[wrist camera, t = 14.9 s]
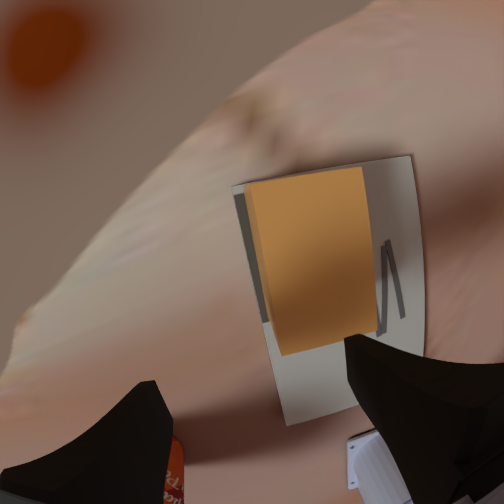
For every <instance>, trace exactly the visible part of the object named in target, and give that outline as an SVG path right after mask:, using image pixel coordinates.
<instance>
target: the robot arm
mask: <svg viewBox="0 0 504 504" xmlns="http://www.w3.org/2000/svg"><path fill="white" fill-rule="evenodd" d="M344 346H345V357H346V369H347V381H348V383H349V385H350V387H351V389H352V391H353V393H354V395H355V397H356V400H357V401H358V403H359V404H360V406H361V407H362V409H363V410H364V412H365V413H366V415H367V416H368V418H369V419H370V421H371V422H372V423H373V425H374V426H375V428H376V430H373V431H371V432H368V433H365V434H363V435H360V436H357V437H354V438H351V439H349V440H348V441H347V472H348V488H349V489H354V488H357V487H358V489H359V491H360V493H361V496H362V498H363V500H364V502H365V504H504V363H495V364H466V363H454V362H446V361H441V360H436V359H430V358H426V357H422V356H419V355H415V354H412V353H409V352H406V351H403V350H400V349H397V348H395V347H392V346H389V345H387V344H384V343H382V342H379V341H377V340H375V339H372V338H370V337H367V336H365V335H362V334H359V333H358V334H355V335H352V336H348V337H345V338H344ZM172 437H173V418H172V416H171V414H170V412H169V410H168V408H167V406H166V404H165V402H164V400H163V398H162V395H161V393H160V391H159V389H158V387H157V384H156V382H155V380H152V381H144V382H140V383H139V384H137V385H136V386H135V387H134V388H133V389H132V390H131V391H130V392H129V393H128V394H127V395H126V396H125V397H124V398H123V399H122V400H121V401H120V402H118V403H117V404H116V405H115V406H114V407H113V408H112V409H111V410H110V411H109V412H108V413H107V414H106V415H105V416H104V417H102V418H101V419H100V420H99V421H98V422H97V423H96V424H95V425H93V426H92V427H91V428H90V429H88V430H87V431H86V432H84V433H83V434H82V435H80V436H79V437H77V438H76V439H74V440H73V441H71V442H70V443H68V444H66V445H64V446H63V447H61V448H59V449H57V450H56V451H54V452H52V453H50V454H48V455H45V456H43V457H41V458H38V459H36V460H33V461H31V462H28V463H25V464H21V465H18V466H14V467H10V468H6V469H4V470H3V471H2V473H1V474H0V504H164V488H165V481H166V475H167V469H168V463H169V458H170V452H171V446H172Z"/></svg>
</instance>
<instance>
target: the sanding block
mask: <svg viewBox="0 0 504 504" xmlns="http://www.w3.org/2000/svg"><path fill="white" fill-rule="evenodd" d="M243 190H244V195H245V200H246V205H247V210H248V215H249V221H250V226H251V231H252V236H253V242H254V247H255V252H256V257H257V262H258V268H259V273H260V278H261V283H262V289H263V294H264V299H265V304H266V310H267V315H268V318H269V321H270V324H271V327H272V330H273V333H274V336H275V339H276V341H277V344H278V347H279V350H280V353H281V356H286V355H290V354H294V353H298V352H302V351H306V350H310V349H314V348H318V347H322V346H326V345H329V344H333V343H337V342H340V341H344V338H345V337H348V336H352V335H355V334H358V333H359V334H362V335H364V334H367V333H371V332H374V331H377V302H376V284H375V270H374V258H373V247H372V238H371V229H370V220H369V212H368V205H367V198H366V191H365V185H364V179H363V172H362V167H354V168H346V169H339V170H332V171H325V172H318V173H312V174H305V175H299V176H293V177H287V178H281V179H275V180H269V181H264V182H258V183H253V184H248V185H245V186H243Z"/></svg>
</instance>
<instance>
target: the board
mask: <svg viewBox="0 0 504 504" xmlns="http://www.w3.org/2000/svg"><path fill="white" fill-rule="evenodd" d="M354 167H362V172H363V179H364V185H365V191H366V198H367V205H368V212H369V220H370V229H371V238H372V247H373V258H374V270H375V284H376V302H377V331H374V332H371V333H367V334H364V335H365V336H367V337H370V338H372V339H375V340H377V341H379V342H382V343H384V344H387V345H389V346H392V347H395V348H397V349H400V350H403V351H406V352H409V353H412V354H415V355H419V356H422V357H423V350H424V325H425V288H424V263H423V248H422V236H421V226H420V216H419V208H418V200H417V193H416V187H415V180H414V174H413V169H412V163H411V158H410V156H403V157H395V158H388V159H381V160H374V161H367V162H360V163H354V164H347V165H341V166H335V167H329V168H323V169H317V170H312V171H306V172H301V173H296V174H290V175H285V176H280V177H275V178H270V179H265V180H260V181H256V182H251V183H246V184H242V185H237V186H233V187H231V189H232V193H233V198H234V202H235V206H236V211H237V215H238V220H239V224H240V229H241V233H242V237H243V242H244V246H245V251H246V255H247V260H248V264H249V268H250V273H251V277H252V281H253V286H254V290H255V295H256V299H257V303H258V308H259V312H260V316H261V321H262V325H263V329H264V334H265V338H266V342H267V347H268V351H269V355H270V360H271V364H272V368H273V372H274V377H275V381H276V385H277V390H278V394H279V398H280V402H281V407H282V411H283V415H284V419H285V423H286V426H290V425H294V424H297V423H301V422H305V421H309V420H312V419H316V418H319V417H322V416H326V415H329V414H332V413H335V412H339V411H342V410H345V409H348V408H351V407H354V406H356V405H359V403H358V401H357V400H356V397H355V395H354V393H353V391H352V389H351V387H350V385H349V383H348V381H347V369H346V357H345V346H344V341H340V342H337V343H333V344H329V345H326V346H322V347H318V348H314V349H310V350H306V351H302V352H298V353H294V354H290V355H286V356H281V353H280V350H279V347H278V344H277V341H276V339H275V336H274V333H273V330H272V327H271V324H270V321H269V318H268V315H267V310H266V304H265V299H264V294H263V289H262V283H261V278H260V273H259V268H258V262H257V257H256V252H255V247H254V242H253V236H252V231H251V226H250V221H249V215H248V210H247V205H246V200H245V195H244V190H243V186H245V185H248V184H253V183H258V182H264V181H269V180H275V179H281V178H287V177H293V176H299V175H305V174H312V173H318V172H325V171H332V170H339V169H346V168H354Z"/></svg>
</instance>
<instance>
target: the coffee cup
mask: <svg viewBox="0 0 504 504" xmlns="http://www.w3.org/2000/svg"><path fill="white" fill-rule="evenodd" d="M164 504H184V451H183V447H182V445H181V443H180V442H179V441H178V440H177V439H176V438H175V437H174V436H173V437H172V446H171V452H170V458H169V463H168V469H167V475H166V481H165V488H164Z"/></svg>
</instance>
